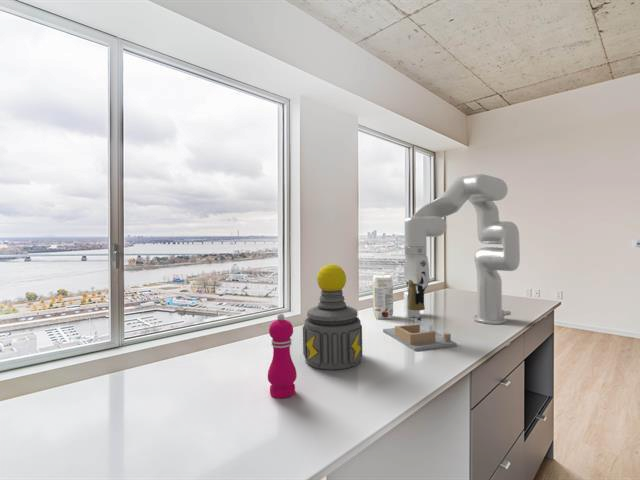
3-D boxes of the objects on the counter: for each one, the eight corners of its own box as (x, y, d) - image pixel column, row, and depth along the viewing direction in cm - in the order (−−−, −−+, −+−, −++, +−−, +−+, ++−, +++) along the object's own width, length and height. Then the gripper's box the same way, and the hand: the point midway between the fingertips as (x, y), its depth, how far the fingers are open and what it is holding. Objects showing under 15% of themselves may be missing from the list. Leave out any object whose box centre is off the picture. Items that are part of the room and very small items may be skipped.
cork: (426, 307, 132) (425, 277, 131) (423, 311, 126) (423, 279, 126) (409, 306, 134) (408, 276, 134) (405, 309, 129) (405, 278, 128)
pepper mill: (285, 402, 86) (283, 318, 86) (262, 395, 90) (260, 315, 90) (302, 390, 93) (300, 312, 92) (280, 384, 96) (278, 309, 96)
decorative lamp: (336, 377, 101) (334, 268, 100) (290, 361, 113) (288, 265, 112) (375, 358, 114) (373, 263, 114) (330, 346, 127) (328, 260, 126)
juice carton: (394, 319, 163) (393, 276, 162) (374, 319, 163) (374, 277, 162) (391, 315, 170) (390, 274, 170) (372, 315, 170) (372, 275, 170)
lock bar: (418, 326, 147) (418, 315, 146) (433, 332, 137) (432, 321, 137) (415, 326, 146) (415, 316, 146) (429, 333, 137) (429, 322, 136)
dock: (419, 327, 148) (419, 316, 148) (456, 345, 125) (456, 332, 125) (383, 331, 144) (382, 320, 143) (414, 351, 120) (414, 337, 120)
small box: (419, 317, 165) (419, 294, 165) (407, 317, 165) (407, 294, 165) (415, 313, 173) (415, 291, 173) (403, 313, 173) (403, 291, 173)
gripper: (438, 252, 123) (438, 306, 123) (412, 250, 139) (413, 298, 139) (418, 253, 121) (419, 308, 121) (395, 250, 137) (395, 299, 137)
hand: (416, 302), depth 130 cm, fingers closed on cork, 4 cm apart
